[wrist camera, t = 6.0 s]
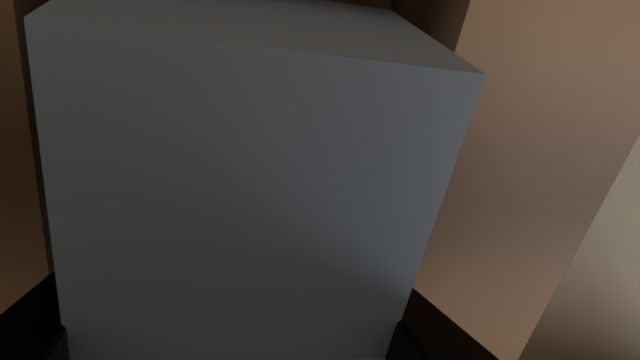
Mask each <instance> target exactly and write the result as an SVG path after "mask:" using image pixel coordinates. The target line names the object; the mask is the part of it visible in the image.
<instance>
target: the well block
mask: <svg viewBox="0 0 640 360" xmlns="http://www.w3.org/2000/svg"><path fill="white" fill-rule="evenodd" d="M48 1H50V0H0V314H1V313H2V312H4V311H5V310H6V309H7V308H9V307H10V306H11V305H12V304H13V303H15V302H16V301H17V300H18V299H20V298H21V297H22V296H23V295H24V294H26V293H27V292H28V291H29V290H31V289H32V288H33V287H34V286H35V285H37V284H38V283H39V282H40V281H42V280H43V279H44V278H45V277H46V276H48V275H49V274H50V273H51V272H53V271H54V270H55V269H54V261H53V253H52V245H51V237H50V229H49V220H48V212H47V204H46V196H45V188H44V180H43V172H42V164H41V155H40V147H39V139H38V131H37V123H36V115H35V107H34V99H33V90H32V82H31V74H30V66H29V58H28V50H27V42H26V34H25V25H24V17H25V16H26V15H28V14H29V13H31V12H33V11H34V10H36V9H37V8H39V7H40V6H42V5H43V4H45V3H47V2H48ZM327 1H334V2H341V3H347V4H354V5H360V6H367V7H374V8H380V9H387V10H392V11H393V12H395V13H396V14H398V15H399V16H401V17H402V18H404V19H405V20H407V21H408V22H410V23H411V24H413V25H414V26H415V27H417V28H418V29H420V30H421V31H423V32H424V33H426V34H427V35H429V36H430V37H432V38H433V39H435V40H436V41H438V42H439V43H441V44H442V45H443V46H445V47H446V48H448V49H449V50H451V51H452V52H454V53H455V54H457V55H458V56H460V57H461V58H463V59H464V60H466V61H467V62H468V63H470V64H471V65H473V66H474V67H476V68H477V69H479V70H480V71H482V72H483V73H485V74H486V77H485V79H484V82H483V85H482V88H481V91H480V94H479V97H478V100H477V103H476V105H475V108H474V111H473V114H472V117H471V120H470V123H469V126H468V129H467V131H466V134H465V137H464V140H463V143H462V146H461V149H460V152H459V154H458V157H457V160H456V163H455V166H454V169H453V172H452V175H451V178H450V180H449V183H448V186H447V189H446V192H445V195H444V198H443V201H442V204H441V206H440V209H439V212H438V215H437V218H436V221H435V224H434V227H433V230H432V232H431V235H430V238H429V241H428V244H427V247H426V250H425V253H424V256H423V258H422V261H421V264H420V267H419V270H418V273H417V276H416V279H415V282H414V284H413V288H414V289H415V290H417V291H418V292H419V293H420V294H421V295H423V296H424V297H425V298H426V299H427V300H429V301H430V302H431V303H432V304H433V305H435V306H436V307H437V308H438V309H439V310H441V311H442V312H443V313H444V314H445V315H447V316H448V317H449V318H450V319H451V320H453V321H454V322H455V323H456V324H457V325H459V326H460V327H461V328H462V329H463V330H465V331H466V332H467V333H468V334H469V335H471V336H472V337H473V338H474V339H475V340H477V341H478V342H479V343H480V344H481V345H483V346H484V347H485V348H486V349H487V350H489V351H490V352H491V353H492V354H493V355H495V356H496V357H497V358H498V359H499V360H518V359H519V357H520V355H521V353H522V351H523V349H524V347H525V346H526V344H527V342H528V340H529V338H530V336H531V334H532V333H533V331H534V329H535V327H536V325H537V323H538V321H539V320H540V318H541V316H542V314H543V312H544V310H545V309H546V307H547V305H548V303H549V301H550V299H551V297H552V296H553V294H554V292H555V290H556V288H557V286H558V284H559V283H560V281H561V279H562V277H563V275H564V273H565V271H566V270H567V268H568V266H569V264H570V262H571V260H572V258H573V257H574V255H575V253H576V251H577V249H578V247H579V245H580V244H581V242H582V240H583V238H584V236H585V234H586V232H587V231H588V229H589V227H590V225H591V223H592V221H593V219H594V218H595V216H596V214H597V212H598V210H599V208H600V206H601V205H602V203H603V201H604V199H605V197H606V195H607V193H608V192H609V190H610V188H611V186H612V184H613V182H614V180H615V179H616V177H617V175H618V173H619V171H620V169H621V167H622V166H623V164H624V162H625V160H626V158H627V156H628V154H629V153H630V151H631V149H632V147H633V145H634V143H635V141H636V140H637V138H638V136H639V134H640V0H327Z"/></svg>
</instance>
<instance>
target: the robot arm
mask: <svg viewBox="0 0 640 360" xmlns="http://www.w3.org/2000/svg"><path fill="white" fill-rule="evenodd" d="M385 359H386V360H499V359H498V358H497V357H496V356H495V355H493V354H492V353H491V352H490V351H489V350H487V349H486V348H485V347H484V346H483V345H481V344H480V343H479V342H478V341H477V340H475V339H474V338H473V337H472V336H471V335H469V334H468V333H467V332H466V331H465V330H463V329H462V328H461V327H460V326H459V325H457V324H456V323H455V322H454V321H453V320H451V319H450V318H449V317H448V316H447V315H445V314H444V313H443V312H442V311H441V310H439V309H438V308H437V307H436V306H435V305H433V304H432V303H431V302H430V301H429V300H427V299H426V298H425V297H424V296H423V295H421V294H420V293H419V292H418V291H417V290H415V289H414V288H413V287H412V290H411V293H410V296H409V299H408V302H407V305H406V308H405V310H404V313H403V316H402V319H401V321H399V322H398V323H397V324H396V327H395V330H394V333H393V336H392V339H391V342H390V345H389V348H388V351H387V354H386V357H385ZM0 360H70V357H69V348H68V340H67V331H66V328H65V327H64V326H63V325H61V318H60V310H59V302H58V294H57V285H56V277H55V270H54V271H53V272H51V273H50V274H49V275H48V276H46V277H45V278H44V279H43V280H42V281H40V282H39V283H38V284H37V285H35V286H34V287H33V288H32V289H31V290H29V291H28V292H27V293H26V294H24V295H23V296H22V297H21V298H20V299H18V300H17V301H16V302H15V303H13V304H12V305H11V306H10V307H9V308H7V309H6V310H5V311H4V312H2V313H1V314H0Z"/></svg>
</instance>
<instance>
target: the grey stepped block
mask: <svg viewBox="0 0 640 360" xmlns="http://www.w3.org/2000/svg"><path fill="white" fill-rule="evenodd" d="M24 25H25V34H26V42H27V50H28V58H29V66H30V74H31V82H32V90H33V99H34V107H35V115H36V123H37V131H38V139H39V147H40V155H41V164H42V172H43V180H44V188H45V196H46V204H47V212H48V220H49V229H50V237H51V245H52V253H53V261H54V269H55V277H56V285H57V294H58V302H59V310H60V318H61V325H63V326H64V327H65V328H66V331H67V340H68V348H69V357H70V360H386V359H385V357H386V354H387V351H388V348H389V345H390V342H391V339H392V336H393V333H394V330H395V327H396V324H397V323H398V322H399V321H401V319H402V316H403V313H404V310H405V308H406V305H407V302H408V299H409V296H410V293H411V290H412V287H413V284H414V282H415V279H416V276H417V273H418V270H419V267H420V264H421V261H422V258H423V256H424V253H425V250H426V247H427V244H428V241H429V238H430V235H431V232H432V230H433V227H434V224H435V221H436V218H437V215H438V212H439V209H440V206H441V204H442V201H443V198H444V195H445V192H446V189H447V186H448V183H449V180H450V178H451V175H452V172H453V169H454V166H455V163H456V160H457V157H458V154H459V152H460V149H461V146H462V143H463V140H464V137H465V134H466V131H467V129H468V126H469V123H470V120H471V117H472V114H473V111H474V108H475V105H476V103H477V100H478V97H479V94H480V91H481V88H482V85H483V82H484V79H485V77H486V74H485V73H483V72H482V71H480V70H479V69H477V68H476V67H474V66H473V65H471V64H470V63H468V62H467V61H466V60H464V59H463V58H461V57H460V56H458V55H457V54H455V53H454V52H452V51H451V50H449V49H448V48H446V47H445V46H443V45H442V44H441V43H439V42H438V41H436V40H435V39H433V38H432V37H430V36H429V35H427V34H426V33H424V32H423V31H421V30H420V29H418V28H417V27H415V26H414V25H413V24H411V23H410V22H408V21H407V20H405V19H404V18H402V17H401V16H399V15H398V14H396V13H395V12H393V11H392V10H387V9H380V8H374V7H367V6H360V5H354V4H347V3H341V2H334V1H327V0H50V1H48V2H47V3H45V4H43V5H42V6H40V7H39V8H37V9H36V10H34V11H33V12H31V13H29V14H28V15H26V16H25V17H24Z"/></svg>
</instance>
